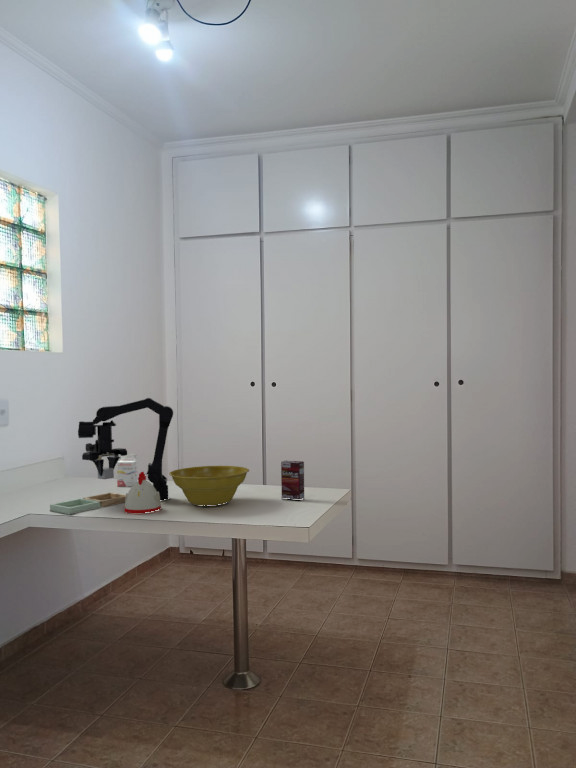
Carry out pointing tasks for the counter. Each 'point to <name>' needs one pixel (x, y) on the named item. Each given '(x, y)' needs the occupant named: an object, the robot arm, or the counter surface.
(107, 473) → the grey cube
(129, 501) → the kitchen timer
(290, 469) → the supplement box
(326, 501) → the counter surface
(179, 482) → the planter bowl
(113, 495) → the oak tray
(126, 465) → the ink cartridge box
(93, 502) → the green bin
